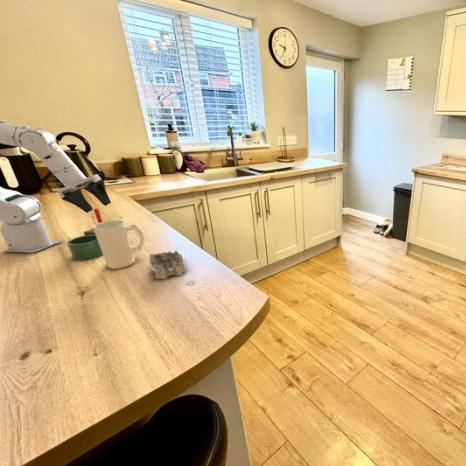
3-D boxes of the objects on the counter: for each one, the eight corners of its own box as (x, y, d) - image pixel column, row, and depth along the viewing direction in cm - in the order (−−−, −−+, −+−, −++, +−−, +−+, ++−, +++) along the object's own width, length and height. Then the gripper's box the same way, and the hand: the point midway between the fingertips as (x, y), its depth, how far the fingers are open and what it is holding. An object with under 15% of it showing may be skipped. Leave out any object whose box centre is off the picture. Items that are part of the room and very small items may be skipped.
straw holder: (86, 240, 96) (83, 232, 95) (104, 232, 102) (102, 224, 101) (106, 241, 95) (103, 233, 94) (123, 233, 102) (120, 225, 101)
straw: (102, 237, 98) (92, 209, 94) (105, 236, 99) (95, 208, 96) (105, 237, 98) (96, 209, 94) (108, 236, 99) (99, 208, 95)
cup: (66, 259, 83) (60, 244, 81) (89, 248, 90) (84, 234, 88) (90, 261, 83) (84, 245, 81) (111, 250, 89) (106, 235, 88)
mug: (107, 271, 77) (92, 230, 73) (106, 262, 82) (92, 223, 77) (151, 261, 83) (140, 222, 79) (148, 253, 88) (137, 215, 83)
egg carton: (186, 274, 77) (183, 260, 75) (153, 282, 73) (149, 268, 71) (182, 258, 85) (179, 245, 83) (151, 265, 81) (148, 252, 79)
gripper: (93, 157, 88) (125, 195, 95) (58, 172, 91) (91, 208, 98) (74, 164, 82) (109, 205, 89) (37, 180, 85) (74, 218, 92)
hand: (99, 207), depth 93 cm, fingers open, 7 cm apart
